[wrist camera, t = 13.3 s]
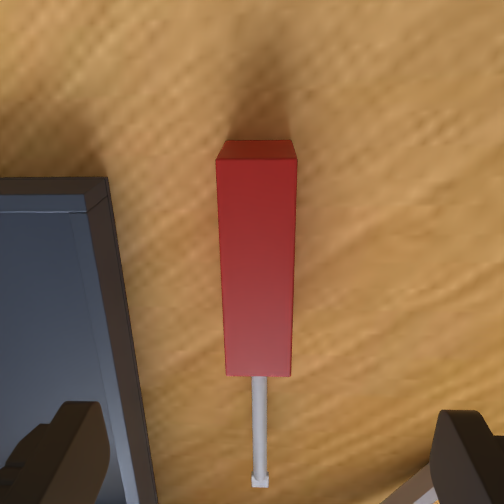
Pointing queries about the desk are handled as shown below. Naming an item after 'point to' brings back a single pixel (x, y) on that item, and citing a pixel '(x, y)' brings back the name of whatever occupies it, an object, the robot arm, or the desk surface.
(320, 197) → the desk surface
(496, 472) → the robot arm
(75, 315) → the tray
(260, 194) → the screwdriver
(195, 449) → the desk surface
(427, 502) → the caliper
